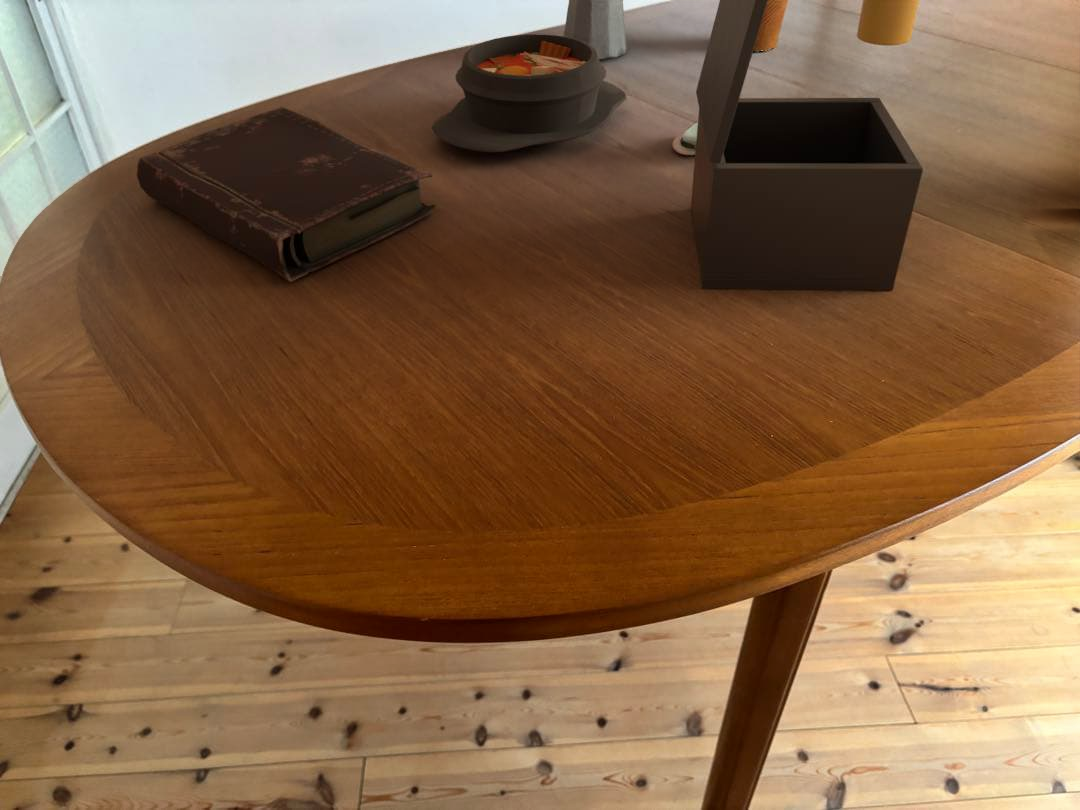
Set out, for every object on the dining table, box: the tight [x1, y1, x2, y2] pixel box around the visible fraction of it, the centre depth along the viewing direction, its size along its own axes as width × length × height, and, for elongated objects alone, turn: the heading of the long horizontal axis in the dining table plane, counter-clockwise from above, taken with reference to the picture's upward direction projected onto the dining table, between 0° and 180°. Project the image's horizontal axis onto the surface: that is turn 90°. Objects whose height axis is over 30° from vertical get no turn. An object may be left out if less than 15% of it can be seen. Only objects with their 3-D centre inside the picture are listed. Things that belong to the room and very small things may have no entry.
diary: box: [136, 106, 436, 283], centre depth 91 cm, size 19×25×5 cm
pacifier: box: [672, 121, 698, 156], centre depth 99 cm, size 7×6×6 cm
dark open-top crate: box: [690, 97, 924, 292], centre depth 80 cm, size 16×15×11 cm
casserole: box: [431, 33, 627, 154], centre depth 105 cm, size 25×19×8 cm
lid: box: [695, 0, 768, 163], centre depth 72 cm, size 17×15×1 cm
